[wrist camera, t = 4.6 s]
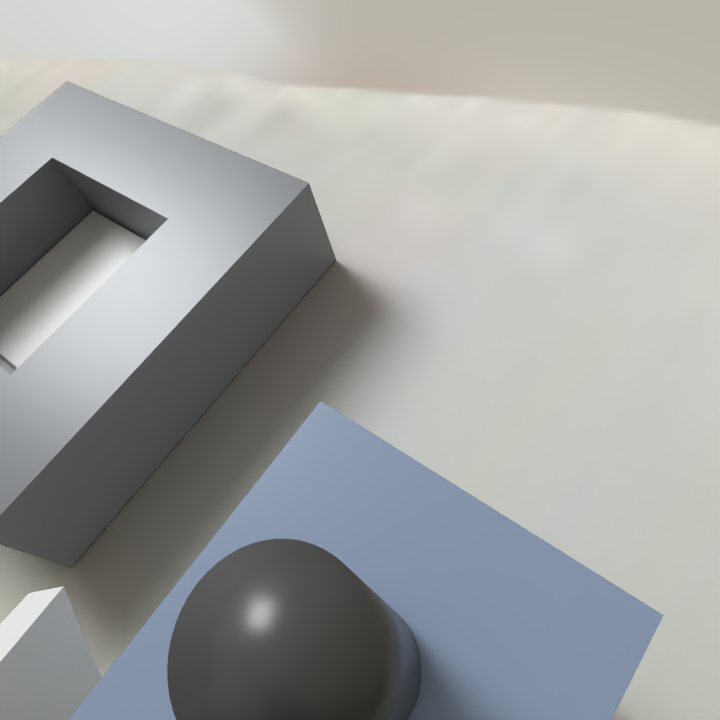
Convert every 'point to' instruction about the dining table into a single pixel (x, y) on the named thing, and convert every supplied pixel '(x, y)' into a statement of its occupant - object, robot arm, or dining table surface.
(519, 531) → the plug
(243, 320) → the socket
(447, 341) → the dining table surface
